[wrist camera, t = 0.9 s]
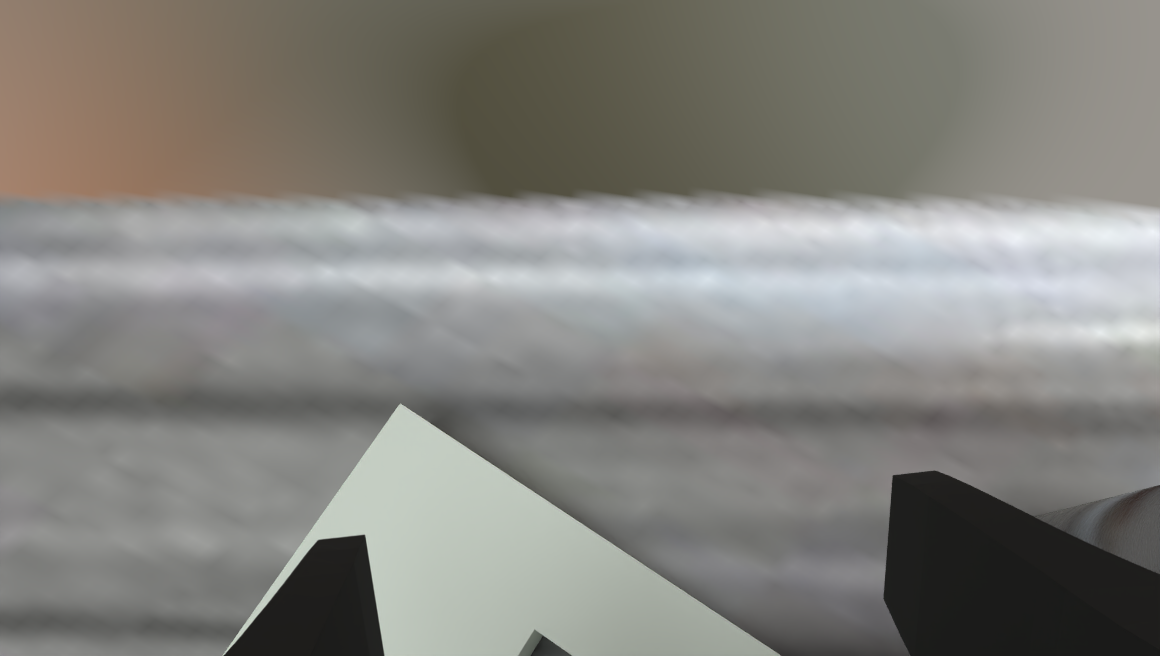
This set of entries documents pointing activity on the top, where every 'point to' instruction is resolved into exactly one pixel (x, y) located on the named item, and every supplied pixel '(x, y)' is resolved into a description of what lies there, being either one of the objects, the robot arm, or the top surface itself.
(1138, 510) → the peg
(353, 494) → the hole block
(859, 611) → the top surface
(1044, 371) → the top surface
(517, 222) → the top surface
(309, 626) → the robot arm
